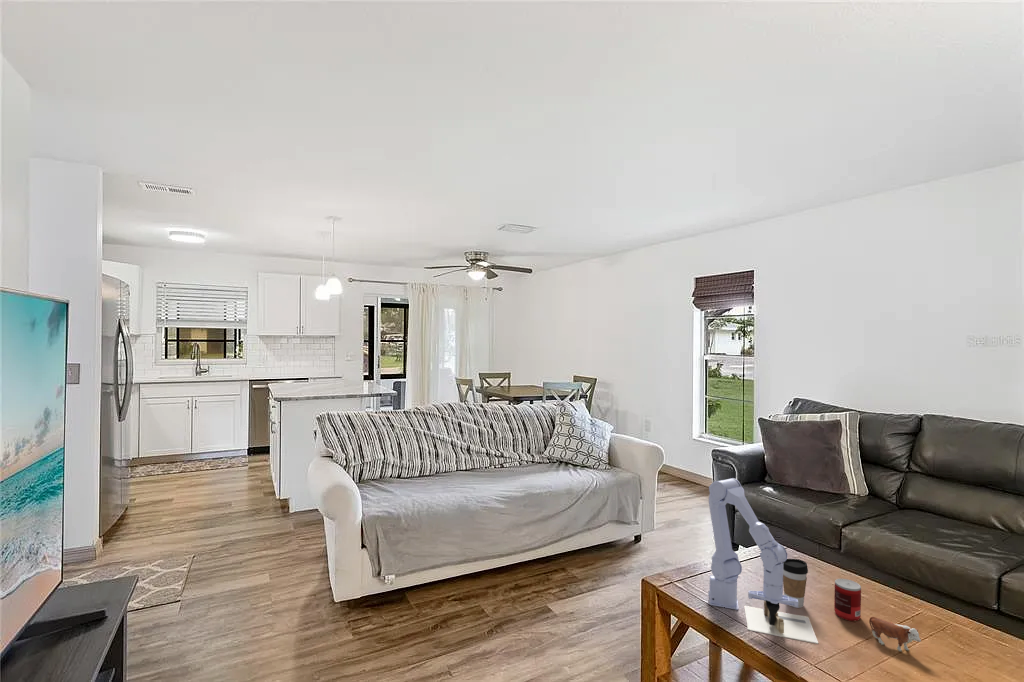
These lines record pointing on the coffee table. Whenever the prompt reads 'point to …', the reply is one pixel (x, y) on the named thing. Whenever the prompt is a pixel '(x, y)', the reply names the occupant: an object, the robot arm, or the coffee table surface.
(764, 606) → the wooden pieces
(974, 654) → the coffee table surface
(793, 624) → the card
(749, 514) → the robot arm
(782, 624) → the fence panel
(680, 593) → the coffee table surface
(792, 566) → the coffee cup
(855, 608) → the canned food
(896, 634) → the bull figurine
